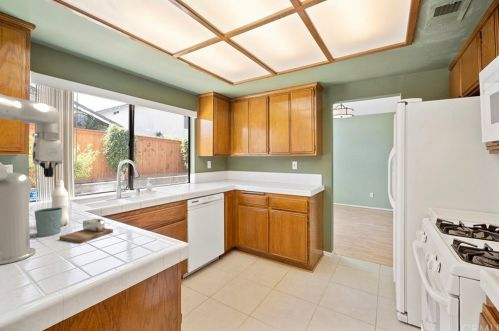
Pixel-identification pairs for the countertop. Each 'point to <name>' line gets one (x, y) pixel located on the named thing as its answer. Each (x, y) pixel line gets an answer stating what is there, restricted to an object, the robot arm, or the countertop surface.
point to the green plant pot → (48, 221)
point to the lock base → (85, 235)
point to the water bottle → (61, 201)
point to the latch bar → (94, 225)
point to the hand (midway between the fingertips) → (48, 176)
